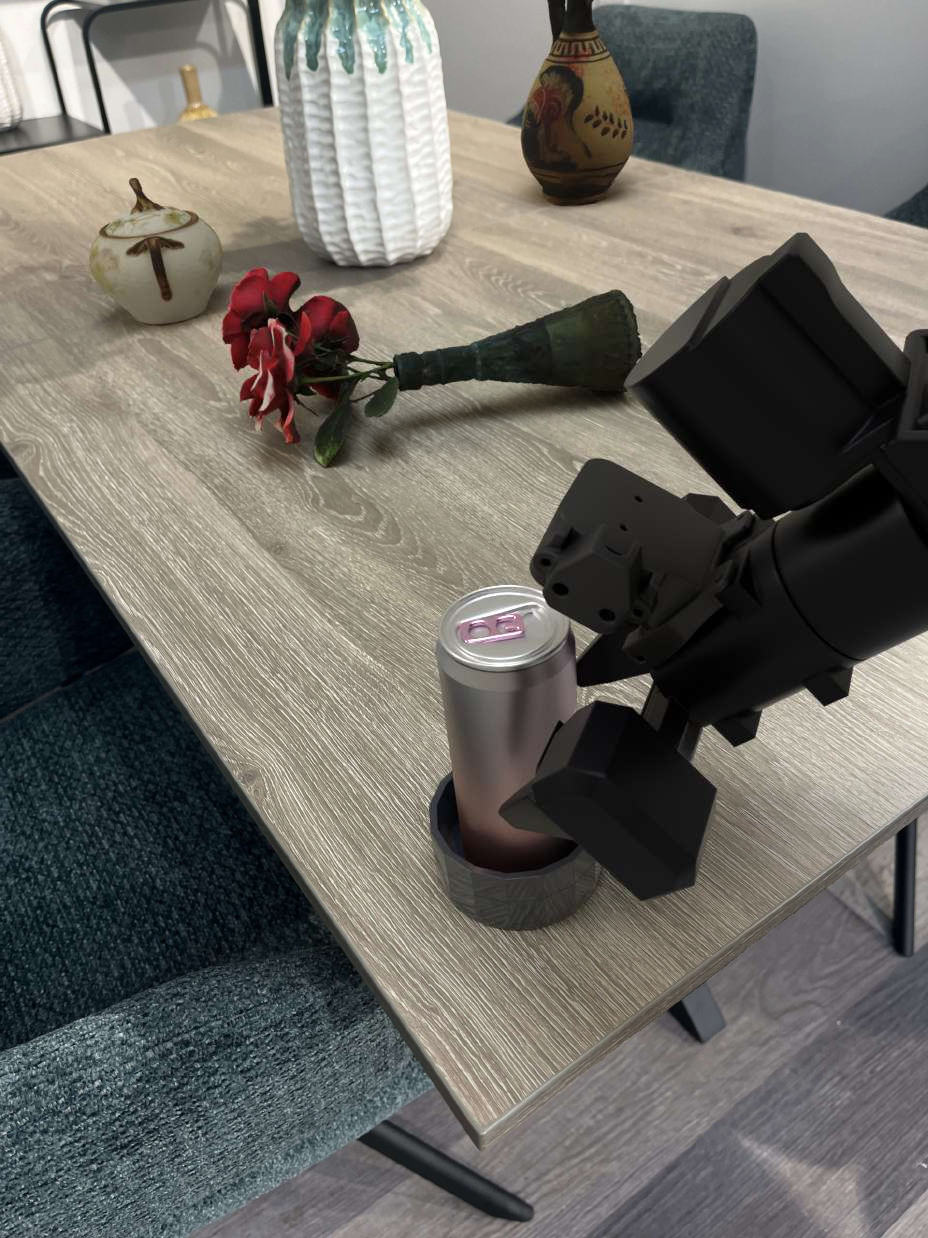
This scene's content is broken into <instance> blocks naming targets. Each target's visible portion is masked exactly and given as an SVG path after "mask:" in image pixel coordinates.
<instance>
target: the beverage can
mask: <svg viewBox="0 0 928 1238" xmlns="http://www.w3.org/2000/svg"><path fill="white" fill-rule="evenodd" d="M542 590H543V589H539V588H537V587H533V586H528V585H521V584H496V585H489V586H485V587H480V588H477V589H475V590H472V591H469V592H468V593H466V594H463V595H461V596H460V597H458V598H457V599H455V600H454V601H452V603H450V604H449V605H448V606H447V607H446V609H445V610H444V611H443V612H442V614H441V616H440V618H439V620H438V624H437V640H436V644H435V658H436V665H437V672H438V678H439V686H440V693H441V701H442V707H443V712H444V713H443V714H444V715H443V716H444V722H445V729H446V736H447V743H448V750H449V757H450V764H451V771H452V773H453V780H454V787H455V794H456V801H457V808H458V816H459V823H460V830H461V837H462V844H463V851H464V856H465V860H466V861H468V862H469V863H471V864H472V865H474V866H476V867H480V868H485V869H489V870H494V871H498V872H503V873H514V872H524V871H533V870H540V869H542V868H544V867H546V866H549V865H551V864H553V863H555V862H557V861H559V860H561V859H563V858H566V857H568V856H569V855H570V854H571V853H572V852H573V850H574V849H575V848H576V847H577V846H578V844H577V843H576V842H575V841H573V840H569V839H564V838H559V837H554V836H549V835H544V834H540V833H535V832H530V831H525V830H520V829H516V828H513V827H512V826H511V825H510V824H508V823H507V822H506V821H505V820H504V819H503V818H502V817H501V816H500V815H499V814H498V811H499V809H500V807H501V805H502V804H503V803H504V802H505V801H507V800H508V799H509V798H510V797H511V796H512V795H513V794H514V793H515V792H517V791H518V790H519V789H520V788H522V787H523V786H524V785H526V784H527V783H528V782H530V781H531V780H532V779H533V778H535V771H536V766H537V764H538V762H539V759H540V757H541V755H542V753H543V751H544V749H545V747H546V745H547V743H548V741H549V739H550V736H551V734H552V732H553V730H554V728H555V726H556V724H557V722H558V720H560V721H562V722H563V723H564V724H565V723H566V722H567V721H568V720H569V719H570V718H571V717H572V715H573V714H574V713H575V712H576V711H578V685H577V677H576V659H577V647H576V646H577V645H576V643H577V642H576V636H575V633H574V630H573V629H572V627H571V619H570V618H568V617H567V616H565V615H563V614H561V613H559V612H558V611H556V610H554V609H552V608H551V607H549V606H548V605H547V603H546V601H545V599H544V597H543V594H542Z"/></svg>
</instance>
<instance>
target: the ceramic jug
mask: <svg viewBox="0 0 928 1238" xmlns="http://www.w3.org/2000/svg"><path fill="white" fill-rule="evenodd" d="M546 1H547V7H548V18H549V24H550V31H551V37H552V41H551V42H552V43H551V47H550V50H549V53H548V54H547V57H546V58H544V59H543V62H542V64H541V66H540V69H539V70H538V73H537V74H536V76H535V79H534V81H533V83H532V85H531V88H530V90H529V93H528V95H527V99H526V102H525V106H524V110H523V115H522V116H523V117H522V120H521V129H520V130H521V132H520V146H521V151H522V157H523V159H524V162H525V164H526V166H527V168H528V170H529V172H530V174H531V175H532V176H533V177H534V179H535V180H536V181H537V183H538V184H539V185H540V187H541V189H542V190H541V194H542V198H543V199H544V200H546V201H548V202H550V203H552V204H554V205H557V206H570V205H572V206H573V205H577V206H584V205H589V204H595V203H597V202H598V201H600V200H603V199H605V198H607V197H608V195H609V190H610V188H611V186H612V185H613V183H614V181H615V180H616V179H617V178H618V176H619V174H620V173H621V172H622V171H623V169H624V168H625V166H626V164H627V162H628V161H629V159H630V156H631V153H632V149H633V144H634V143H633V142H634V131H635V130H634V117H633V111H632V104H631V100H630V98H629V97H630V96H629V94H628V93H629V92H628V89H627V86H626V84H625V82H624V79H623V76H622V75H621V73H620V71H619V68H618V66H617V65H616V63H615V61H614V59H613V57H612V55H611V52H610V51H609V49H608V47H607V46H606V45H605V43H604V40H602V38H601V36H600V33H599V32H598V29H597V28H596V26H595V24H594V21H593V2H594V1H595V0H546Z"/></svg>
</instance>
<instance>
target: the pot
mask: <svg viewBox="0 0 928 1238" xmlns="http://www.w3.org/2000/svg"><path fill="white" fill-rule="evenodd" d="M428 814H429V815H428V816H429V831H430V832H429V833H430V838H431V845H432V850H433V856H434V862H435V868H436V874H437V877H438V878H439V882H440V884H441V885H440V886H441V887H442V889H443V891H444V893H445V895H446V896H447V898H448V899H449V901H450V902H451V903H452V904H453V905H454V906H455V907H456V908H457V909H458V910H459V911H460V912H462V914H464V915H465V916H467V917H469V918H470V919H472V920H474V921H476V922H478V923H480V924H483V925H486V926H489V927H491V928H496V929H501V930H509V931H510V930H511V931H527V930H533V929H539V928H543V927H547V926H550V925H552V924H555V923H557V922H560V921H562V920H564V919H565V918H567V917H569V916H570V915H572V914H573V913H574V912H576V911H577V910H578V909H580V908H581V907H582V906H583V905H584V903H586V901H587V900H588V899H589V898H590V896H591V895H592V894H593V891H594V890H595V888H596V886H597V885H598V881H599V879H600V875H601V870H602V866H601V865H600V864H599V863H598V862H597V861H595V860H594V859H593V858H592V857H591V856H590V855H589V854H588V853H587V852H586V851H584V850H583V849H582V848H581V847H580V846H579V845H578V846H577V847H576V848H575V849H574V850H573V852H572V853H571V854H570V855H569V856H568V857H566V858H563V859H561V860H559V861H557V862H555V863H553V864H551V865H549V866H546V867H544V868H542V869H540V870H533V871H524V872H514V873H503V872H498V871H494V870H489V869H485V868H480V867H476V866H474V865H472V864H471V863H469V862H468V861H466V860H465V856H464V851H463V844H462V837H461V830H460V823H459V816H458V808H457V801H456V794H455V787H454V780H453V773H452V770H451V771H450V772H448V773H447V774H446V775H445V776H444V777H443V778H442V779H440V781H439V783H438V785H437V787H436V790H435V792H434V794H433V796H432V797H431V800H430V802H429V805H428Z"/></svg>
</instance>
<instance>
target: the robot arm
mask: <svg viewBox="0 0 928 1238" xmlns="http://www.w3.org/2000/svg"><path fill="white" fill-rule="evenodd" d="M624 387H625V388H626V389H627V390H628V393H629V394H630V395H631V396H632V397H633V398H634V399H635V400H636V401H637V402H638V403H639V404H640V405H641V406H642V407H643V408H644V409H645V410H646V411H647V412H648V414H650V416H651V417H652V418H653V419H654V420H655V421H656V422H657V423H658V424H659V425H660V426H661V427H662V428H663V430H664V431H666V432H667V433H668V434H669V436H671V437H672V439H674V441H675V442H677V444H678V445H679V446H680V447H681V448H682V449H683V450H684V451H685V452H686V453H687V454H688V455H689V456H690V457H691V458H692V459H693V460H694V461H695V463H696V464H697V465H698V466H700V468H701V469H702V470H703V471H704V472H705V473H706V474H707V475H708V476H709V477H710V478H711V479H712V481H714V483H716V484H717V486H719V488H720V489H721V490H722V491H723V492H724V493H726V495H727V496H728V497H729V498H730V499H731V500H732V501H733V502H734V503H735V504H736V505H737V506H738V507H739V508H740V509H741V510H744V511H742V512H741V513H739V514H736V513H735V512H734V511H733V510H732V509H731V508H730V507H729V506H728V505H727V503H725V502H724V501H723V500H722V499H721V498H720V496H718V495H711V494H702V493H694V492H688V493H687V494H685V495H684V496H682V497H680V496H678V495H676V494H674V493H673V492H671V491H669V490H667V489H665V488H663V487H662V486H659V485H657V484H655V483H654V482H652V481H650V480H648V479H646V478H644V477H642V476H641V475H638V474H637V473H635V472H633V471H632V470H629V469H627V468H626V467H624V466H622V465H620V464H618V463H616V462H614V461H613V460H610V459H606V458H601V457H595V458H594V457H593V458H591V459H588V460H587V461H586V462H584V464H583V465H582V467H581V469H580V470H579V472H578V473H577V475H576V477H575V478H574V480H573V481H572V482H571V485H570V487H569V488H568V489H567V491H566V493H565V495H564V496H563V498H562V499H561V501H560V503H559V504H558V506H557V509H556V511H555V512H554V514H553V515H552V517H551V518H552V519H551V520H550V522H549V524H548V526H547V528H546V530H545V532H544V534H543V535H542V538H541V540H540V542H539V544H538V545H537V547H536V550H535V552H534V553H533V555H532V557H531V559H530V561H529V566H528V567H529V568H528V569H529V573H530V575H531V577H532V578H533V580H534V581H535V582H536V583H537V584H538V585H540V587H542V589H541V590H542V594H543V597H544V599H545V601H546V603H547V605H548V606H549V607H551V608H552V609H554V610H556V611H558V612H559V613H561V614H563V615H565V616H567V617H568V618H570V620H572V621H574V622H576V623H578V624H579V625H581V626H583V627H585V628H587V629H589V630H591V631H592V632H593V633H595V634H597V635H596V636H595V637H594V638H593V639H592V641H590V642H589V644H588V645H587V646H586V647H585V648H584V650H582V652H581V653H580V654H579V655H578V657H576V677H577V687H579V688H587V687H595V686H600V685H606V684H611V683H615V682H620V681H624V680H628V679H630V678H636V677H639V676H644V675H647V674H649V675H650V677H651V679H652V683H651V686H650V689H649V691H648V694H647V696H646V698H645V700H644V703H643V706H642V708H641V712H640V713H639V712H638V711H637V710H636V709H635V708H634V707H633V706H627V705H623V704H618V703H613V702H609V701H603V700H598V699H596V700H593V701H592V702H590V703H588V704H587V705H585V706H583V707H581V708H579V709H577V711H576V712H575V713H574V714H573V715H572V717H571V718H570V719H569V720H568V721H567V722H566V723H565V724H564V723H563V722H562V721H560V720H558V722H557V724H556V726H555V728H554V730H553V732H552V734H551V736H550V739H549V741H548V743H547V745H546V747H545V749H544V751H543V753H542V755H541V757H540V759H539V762H538V764H537V766H536V771H535V778H533V779H532V780H531V781H530V782H528V783H527V784H526V785H524V786H523V787H522V788H520V789H519V790H518V791H517V792H515V793H514V794H513V795H512V796H511V797H510V798H509V799H508V800H507V801H505V802H504V803H503V804H502V805H501V807H500V809H499V811H498V814H499V815H500V816H501V817H502V818H503V819H504V820H505V821H506V822H507V823H508V824H510V825H511V826H512V827H513V828H516V829H520V830H525V831H530V832H535V833H540V834H544V835H549V836H554V837H559V838H564V839H569V840H573V841H575V842H576V843H577V844H578V845H579V846H580V847H581V848H582V849H583V850H584V851H586V852H587V853H588V854H589V855H590V856H591V857H592V858H593V859H594V860H595V861H597V862H598V863H599V864H600V865H601V868H603V870H605V871H606V872H607V873H609V874H610V876H612V877H613V878H614V879H615V880H616V881H617V882H618V883H619V884H620V885H622V887H624V888H625V889H626V890H627V891H628V892H629V893H630V894H631V895H632V896H634V897H635V898H636V899H637V900H638V901H639V902H648V901H652V900H657V899H660V898H662V897H665V896H668V895H671V894H675V893H677V892H680V891H683V890H686V889H690V888H692V887H695V885H696V883H697V878H698V875H699V871H700V868H701V864H702V860H703V857H704V853H705V851H706V847H707V843H708V840H709V837H710V833H711V829H712V826H713V823H714V818H715V816H716V810H717V809H716V808H717V807H716V806H717V797H718V796H717V795H718V788H717V787H716V786H715V785H714V784H713V783H712V782H711V781H710V780H709V779H708V778H706V776H705V775H703V774H702V772H700V771H699V770H698V769H697V768H696V767H695V766H694V765H693V761H694V759H695V755H696V752H697V749H698V746H699V743H700V740H701V736H702V734H703V730H704V728H707V727H709V726H712V728H714V730H716V731H717V733H719V734H720V735H721V736H722V737H723V738H724V740H725V741H727V742H728V743H729V744H730V745H731V747H733V748H734V749H735V748H736V747H740V746H742V745H744V744H746V743H748V742H750V741H753V740H754V739H756V737H757V732H758V729H759V726H760V722H761V718H762V714H763V710H765V709H768V708H769V707H771V706H773V705H775V704H778V703H780V702H781V701H784V700H786V699H788V698H790V697H792V696H794V695H796V694H799V693H801V692H803V691H805V690H807V691H808V693H810V694H811V695H812V696H813V697H814V698H815V699H816V700H817V701H818V702H819V703H820V705H822V706H823V707H827V706H830V705H832V704H834V703H836V702H838V701H840V700H842V699H845V698H847V697H849V695H850V689H851V684H852V679H853V672H854V668H855V666H857V665H859V664H861V663H863V662H865V661H868V660H869V659H872V658H874V657H876V656H877V655H880V654H882V653H884V652H886V651H888V650H890V649H893V648H894V647H897V646H899V645H901V644H903V643H905V642H907V641H909V640H911V639H914V638H917V636H920V635H922V634H924V633H927V632H928V328H918V329H914V330H912V331H910V332H909V333H908V334H907V335H906V337H905V339H904V345H903V349H901V348H899V346H898V345H897V344H896V343H895V342H894V340H893V339H892V338H891V337H890V336H889V335H888V334H887V333H886V331H885V330H884V329H883V328H882V327H881V326H880V325H879V324H878V322H877V321H876V320H875V318H874V317H872V316H871V315H870V314H869V312H868V311H867V310H866V309H865V308H864V306H863V305H862V304H861V303H860V302H859V301H858V300H857V298H856V297H855V296H854V295H853V294H852V293H851V292H850V291H849V290H848V288H847V286H845V284H844V283H843V281H842V279H841V277H840V275H839V273H838V270H837V269H836V267H835V265H834V263H833V261H832V260H831V259H830V258H829V256H828V254H826V253H825V251H824V250H823V249H822V248H821V246H819V245H818V243H817V242H816V241H815V240H814V239H813V238H812V237H811V236H810V234H809V233H807V232H803V231H802V232H801V231H800V232H795V233H794V234H793V235H792V236H791V237H790V238H789V239H787V240H786V241H785V242H784V243H783V244H782V245H780V246H779V247H778V248H777V249H776V250H775V251H773V252H772V253H771V254H766V255H763V256H761V257H759V258H756V259H755V260H753V261H752V262H751V263H749V264H748V265H746V266H745V267H743V268H742V269H741V270H739V271H738V272H737V273H736V274H734V275H733V276H731V278H729V277H728V276H727V275H723V276H722V277H721V278H720V279H719V280H718V281H717V282H715V283H714V284H713V285H712V286H711V287H709V288H708V289H707V290H706V291H705V292H704V293H703V294H702V295H701V296H700V297H698V298H697V300H695V301H694V302H693V303H692V304H691V305H690V306H689V307H687V309H686V310H684V312H683V313H682V314H680V316H679V317H677V318H676V319H675V321H674V322H673V323H672V324H671V325H670V326H669V327H668V328H667V329H666V330H665V331H664V332H663V333H662V334H661V335H660V336H659V337H658V338H657V340H656V341H655V342H654V343H653V344H652V345H651V346H650V347H649V348H648V350H647V351H646V352H644V354H643V355H642V358H640V359H639V360H638V361H637V364H636V365H635V367H634V368H633V369H632V371H631V372H630V374H629V375H628V377H627V378H626V380H625V383H624ZM752 512H753V513H752ZM782 515H784V516H782ZM779 516H781V517H780V518H778V519H777V520H775V519H774V518H777V517H779Z"/></svg>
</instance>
